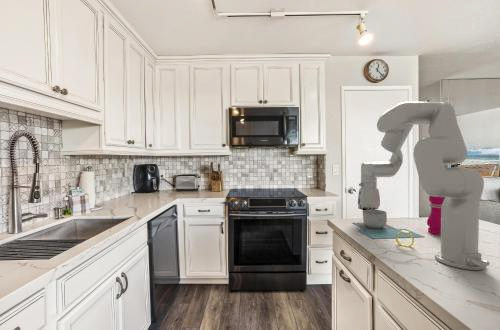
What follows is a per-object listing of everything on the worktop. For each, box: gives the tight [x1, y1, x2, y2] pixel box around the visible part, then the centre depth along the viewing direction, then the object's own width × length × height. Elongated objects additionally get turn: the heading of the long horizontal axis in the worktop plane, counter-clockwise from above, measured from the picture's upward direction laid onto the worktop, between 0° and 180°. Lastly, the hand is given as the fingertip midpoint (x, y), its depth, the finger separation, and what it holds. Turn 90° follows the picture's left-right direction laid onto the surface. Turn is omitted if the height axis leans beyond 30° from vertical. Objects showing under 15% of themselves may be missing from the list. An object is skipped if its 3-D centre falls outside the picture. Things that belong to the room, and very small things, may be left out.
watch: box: [395, 230, 415, 248], centre depth 97 cm, size 6×3×6 cm, turn 52°
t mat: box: [352, 222, 425, 240], centre depth 119 cm, size 25×24×1 cm
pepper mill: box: [426, 195, 445, 236], centre depth 113 cm, size 7×7×20 cm
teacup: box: [361, 209, 388, 229], centre depth 123 cm, size 14×11×8 cm
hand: (368, 219), depth 130 cm, fingers closed
